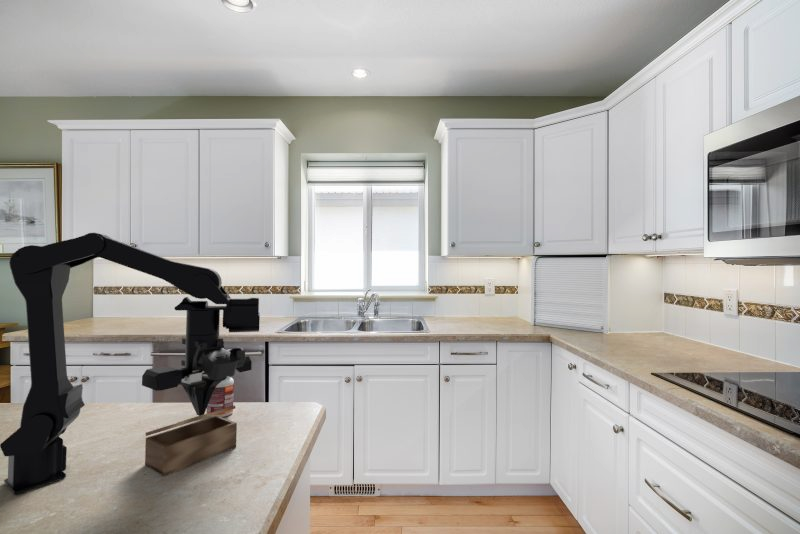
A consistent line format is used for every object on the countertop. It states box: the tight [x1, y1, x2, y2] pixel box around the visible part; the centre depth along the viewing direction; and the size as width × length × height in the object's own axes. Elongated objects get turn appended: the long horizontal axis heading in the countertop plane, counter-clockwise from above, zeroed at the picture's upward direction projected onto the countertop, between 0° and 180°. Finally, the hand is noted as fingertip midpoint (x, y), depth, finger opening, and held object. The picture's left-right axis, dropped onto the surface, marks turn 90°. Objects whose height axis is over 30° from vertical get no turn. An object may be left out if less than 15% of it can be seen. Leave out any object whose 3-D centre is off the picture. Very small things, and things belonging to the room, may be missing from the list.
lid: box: [144, 405, 236, 437], centre depth 76 cm, size 14×7×1 cm, turn 147°
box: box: [144, 416, 238, 477], centre depth 76 cm, size 14×7×5 cm, turn 147°
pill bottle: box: [206, 376, 235, 418], centre depth 99 cm, size 6×6×11 cm
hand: (200, 415), depth 75 cm, fingers closed, pressing on lid
